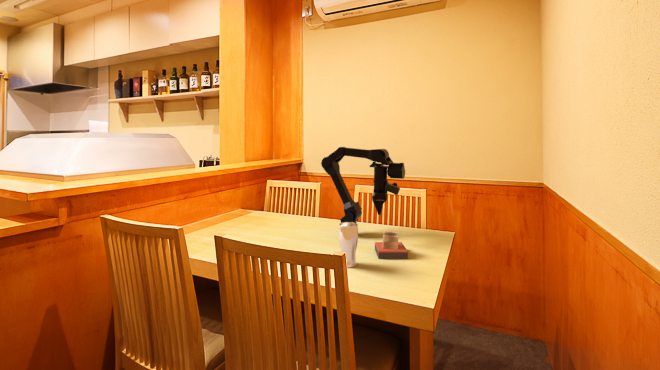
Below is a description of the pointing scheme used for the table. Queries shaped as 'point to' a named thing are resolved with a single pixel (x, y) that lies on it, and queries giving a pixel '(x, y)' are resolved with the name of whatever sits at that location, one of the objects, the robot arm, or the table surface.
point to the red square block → (391, 251)
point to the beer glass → (349, 241)
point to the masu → (390, 240)
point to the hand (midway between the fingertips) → (379, 212)
